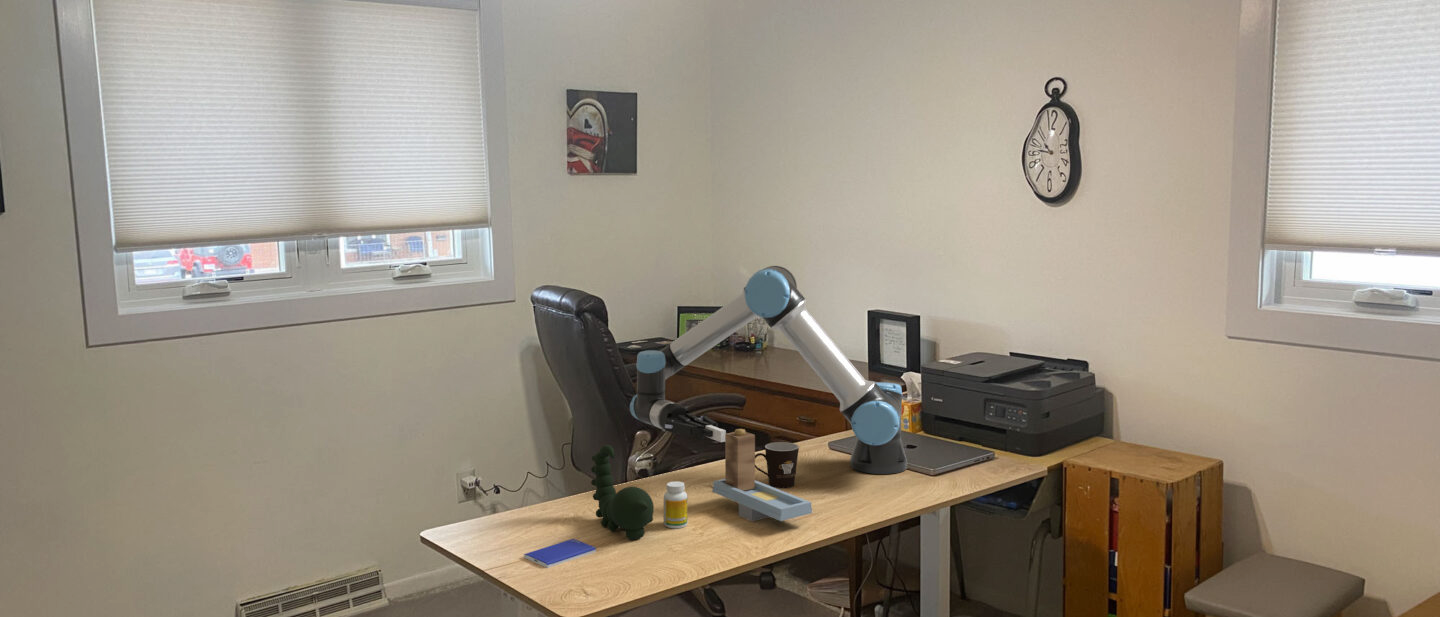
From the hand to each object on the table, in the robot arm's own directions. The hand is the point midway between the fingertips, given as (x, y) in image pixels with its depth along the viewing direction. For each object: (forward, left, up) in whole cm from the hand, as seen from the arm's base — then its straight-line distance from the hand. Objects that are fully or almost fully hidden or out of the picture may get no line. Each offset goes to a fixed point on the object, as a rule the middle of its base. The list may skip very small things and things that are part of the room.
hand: (723, 436), depth 249 cm
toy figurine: (+24, +20, -16) cm, 35 cm away
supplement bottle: (+12, +18, -16) cm, 27 cm away
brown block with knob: (-4, +6, -11) cm, 13 cm away
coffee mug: (-15, -10, -16) cm, 24 cm away
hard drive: (+37, +33, -16) cm, 53 cm away
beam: (-8, +13, -16) cm, 21 cm away
